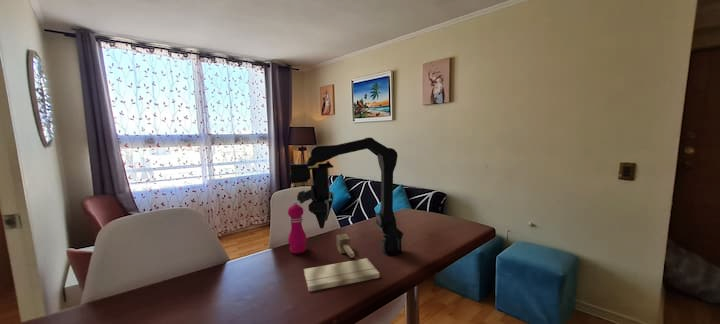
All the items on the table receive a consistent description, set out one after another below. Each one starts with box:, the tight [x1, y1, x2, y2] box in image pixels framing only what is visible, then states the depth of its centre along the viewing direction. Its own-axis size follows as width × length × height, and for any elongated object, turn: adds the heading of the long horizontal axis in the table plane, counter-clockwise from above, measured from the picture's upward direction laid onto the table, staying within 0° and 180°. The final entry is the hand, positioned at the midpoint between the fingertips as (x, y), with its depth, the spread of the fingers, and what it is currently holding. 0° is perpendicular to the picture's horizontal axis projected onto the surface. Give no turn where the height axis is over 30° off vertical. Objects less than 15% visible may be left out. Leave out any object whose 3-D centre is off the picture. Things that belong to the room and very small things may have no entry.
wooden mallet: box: [335, 233, 356, 259], centre depth 108 cm, size 4×16×6 cm, turn 18°
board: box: [303, 257, 381, 293], centre depth 92 cm, size 22×12×2 cm, turn 108°
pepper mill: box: [287, 200, 308, 254], centre depth 113 cm, size 7×7×20 cm
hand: (323, 224), depth 102 cm, fingers open, 9 cm apart
